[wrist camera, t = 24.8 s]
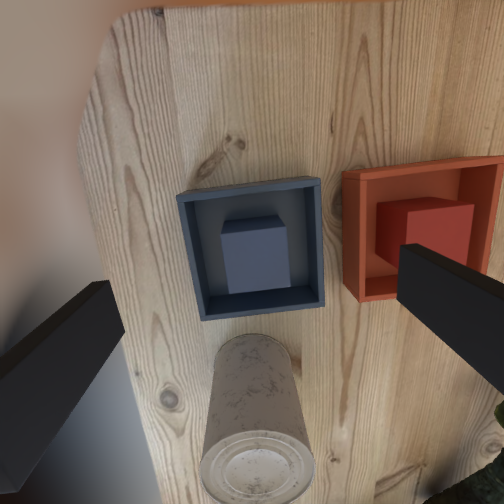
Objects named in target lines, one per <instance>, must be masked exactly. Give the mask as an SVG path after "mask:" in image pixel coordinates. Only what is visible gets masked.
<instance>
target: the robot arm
mask: <svg viewBox="0 0 504 504" xmlns="http://www.w3.org/2000/svg"><path fill="white" fill-rule="evenodd" d="M396 299H397V300H398V301H399V302H400V303H401V304H402V305H403V306H404V307H406V308H407V309H408V310H409V311H410V312H411V313H412V314H413V315H414V316H416V317H417V318H418V319H419V320H420V321H421V322H422V323H423V324H425V325H426V326H427V327H428V328H429V329H430V330H431V331H432V332H434V333H435V334H436V335H437V336H438V337H439V338H440V339H441V340H442V341H444V342H445V343H446V344H447V345H448V346H449V347H450V348H451V349H453V350H454V351H455V352H456V353H457V354H458V355H459V356H460V357H462V358H463V359H464V360H465V361H466V362H467V363H468V364H469V365H470V366H472V367H473V368H474V369H475V370H476V371H477V372H478V373H479V374H481V375H482V376H483V377H484V378H485V379H486V380H487V381H488V382H490V383H491V384H492V385H493V386H494V387H495V388H496V389H497V390H498V391H500V392H501V393H502V394H503V395H504V284H503V283H501V282H499V281H497V280H495V279H493V278H491V277H488V276H486V275H484V274H482V273H480V272H478V271H476V270H473V269H471V268H469V267H467V266H465V265H463V264H461V263H459V262H456V261H454V260H452V259H450V258H448V257H446V256H444V255H442V254H439V253H437V252H435V251H433V250H431V249H429V248H427V247H424V246H422V245H420V244H418V243H412V244H404V245H400V252H399V267H398V282H397V296H396ZM124 333H125V330H124V326H123V323H122V320H121V317H120V313H119V310H118V307H117V304H116V301H115V297H114V294H113V291H112V288H111V285H110V281H109V280H104V281H96V282H92V283H90V284H89V285H88V286H87V287H85V288H84V289H83V290H82V291H80V292H79V293H78V294H77V295H76V296H74V297H73V298H72V299H71V300H69V301H68V302H67V303H66V304H65V305H63V306H62V307H61V308H60V309H59V310H58V311H56V312H55V313H54V314H52V315H51V316H50V317H49V318H48V319H46V320H45V321H44V322H43V323H42V324H40V325H39V326H38V327H37V328H36V329H34V330H33V331H32V332H31V333H29V334H28V335H27V336H26V337H24V338H23V339H22V340H21V341H20V342H19V343H17V344H16V345H15V346H14V347H12V348H11V349H10V350H9V351H7V352H6V353H5V354H4V355H3V356H1V357H0V494H5V493H13V492H18V491H19V490H20V488H21V487H22V485H23V484H24V482H25V481H26V479H27V478H28V476H29V475H30V474H31V472H32V471H33V469H34V468H35V466H36V465H37V463H38V462H39V460H40V459H41V457H42V456H43V454H44V453H45V451H46V449H47V448H48V447H49V445H50V443H51V442H52V441H53V439H54V438H55V436H56V435H57V433H58V432H59V430H60V428H61V427H62V426H63V424H64V423H65V421H66V419H67V418H68V417H69V415H70V414H71V412H72V411H73V409H74V408H75V406H76V405H77V403H78V402H79V400H80V399H81V397H82V396H83V394H84V393H85V391H86V390H87V388H88V387H89V385H90V384H91V382H92V381H93V379H94V378H95V376H96V375H97V373H98V372H99V370H100V369H101V367H102V366H103V364H104V363H105V361H106V360H107V358H108V357H109V356H110V354H111V353H112V351H113V349H114V348H115V346H116V345H117V343H118V342H119V341H120V339H121V338H122V336H123V335H124Z"/></svg>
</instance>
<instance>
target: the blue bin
mask: <svg viewBox="0 0 504 504" xmlns="http://www.w3.org/2000/svg"><path fill="white" fill-rule="evenodd" d="M176 200H177V202H178V203H177V205H178V210H179V215H180V220H181V225H182V230H183V235H184V240H185V245H186V250H187V255H188V260H189V265H190V270H191V275H192V280H193V285H194V290H195V294H196V299H197V304H198V309H199V314H200V319H201V321H209V320H217V319H226V318H234V317H242V316H251V315H259V314H268V313H276V312H285V311H293V310H301V309H310V308H318V307H325V290H324V262H323V235H322V207H321V180H320V178H317V177H311V176H302V177H294V178H286V179H278V180H269V181H261V182H253V183H245V184H236V185H228V186H220V187H212V188H204V189H195V190H187V191H185V192H183V193H180V194H178V195H176ZM269 215H279V217H280V218H281V220H282V221H283V223H284V224H285V225H286V230H287V242H288V255H289V268H290V281H291V286H290V287H283V288H274V289H266V290H257V291H249V292H241V293H232V294H229V289H228V283H227V276H226V270H225V264H224V257H223V251H222V245H221V238H220V233H221V230H222V227H223V224H224V221H228V220H236V219H244V218H253V217H261V216H269Z"/></svg>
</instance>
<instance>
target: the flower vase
mask: <svg viewBox="0 0 504 504" xmlns="http://www.w3.org/2000/svg"><path fill="white" fill-rule="evenodd" d="M494 415H495V418H496V419H497V421H498V422H499V424H500V425H501V426H502V427H503V428H504V401H502V403H501V404H499V405H497V406H496V409H495V411H494ZM423 504H504V447H502V450H501V453H500V454H499V455H498V456H497V458H495V459H494V461H493V463H489V464H488V465H486V466H485V468H483V469H481V470H478V471H477V472H476V473H474V474H472V475H470V476H469V477H468V478H465V479H464V480H461V482H460V483H457V484H455V485H453V486H452V487H451V488H447V489H446V490H444V491H443V492H440V493H439V494H436V495H434V496H432V497H430V498H429V499H428V500H426V501H424V503H423Z"/></svg>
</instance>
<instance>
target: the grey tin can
mask: <svg viewBox="0 0 504 504" xmlns="http://www.w3.org/2000/svg"><path fill="white" fill-rule="evenodd" d="M315 474H316V463H315V460H314V457H313V453H312V452H311V447H310V443H309V439H308V435H307V431H306V426H305V422H304V418H303V414H302V410H301V405H300V401H299V397H298V393H297V389H296V384H295V380H294V376H293V372H292V368H291V360H290V357H289V354H288V352H287V351H286V349H285V347H284V346H282V345H281V344H280V343H279V342H278V341H276V340H275V339H273V338H271V337H268V336H265V335H259V334H246V335H242V336H239V337H236V338H234V339H232V340H230V341H229V342H227V343H226V344H225V345H224V346H223V347H222V348H221V349H220V351H219V352H218V354H217V356H216V358H215V363H214V375H213V382H212V389H211V397H210V404H209V411H208V418H207V425H206V432H205V439H204V446H203V453H202V459H201V461H200V467H199V478H200V483H201V485H202V487H203V489H204V491H205V492H206V493H207V494H208V495H209V497H210V498H211V499H213V500H214V501H216V502H217V503H219V504H291V503H293V502H294V501H296V500H298V499H299V498H300V497H301V496H302V495H304V494H305V493H306V492H307V490H308V489H309V488H310V486H311V485H312V483H313V480H314V477H315Z"/></svg>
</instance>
